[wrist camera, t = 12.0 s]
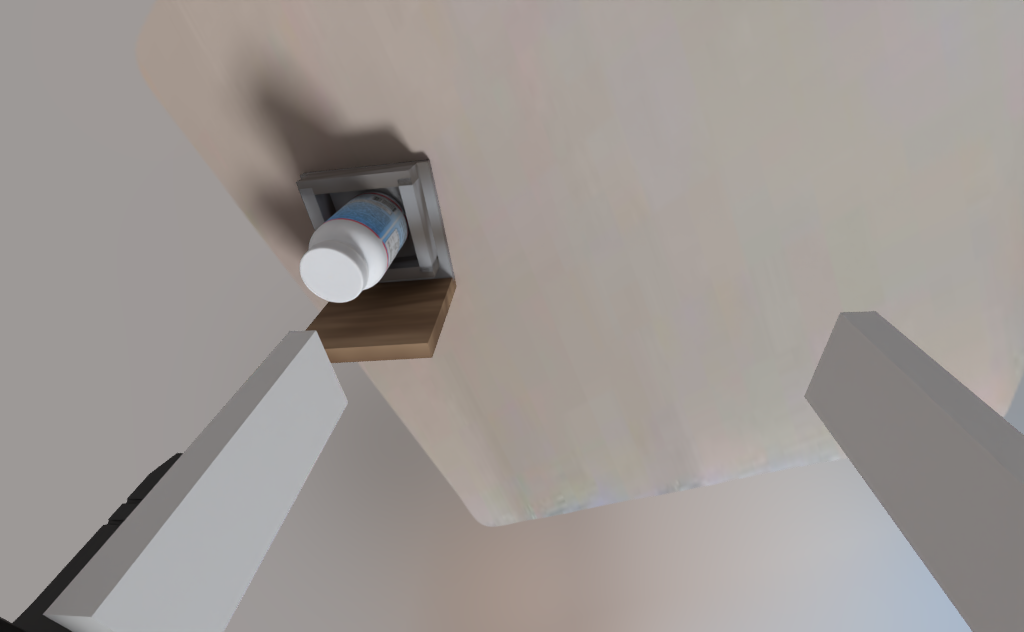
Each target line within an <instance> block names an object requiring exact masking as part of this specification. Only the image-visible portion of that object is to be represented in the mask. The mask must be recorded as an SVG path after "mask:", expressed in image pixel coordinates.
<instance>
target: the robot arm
mask: <svg viewBox="0 0 1024 632" xmlns="http://www.w3.org/2000/svg"><path fill="white" fill-rule="evenodd" d="M804 397H805V398H806V399H807V401H808V402H809V404H810V405H811V406H812V408H813V409H814V411H815V412H816V413H817V415H818V416H819V418H820V419H821V420H822V422H823V423H824V425H825V426H826V427H827V429H828V430H829V432H830V433H831V434H832V436H833V437H834V439H835V440H836V441H837V443H838V444H839V446H840V447H841V448H842V450H843V451H844V453H845V454H846V455H847V457H848V458H849V459H850V461H851V462H852V464H853V465H854V466H855V468H856V469H857V471H858V472H859V473H860V475H861V476H862V478H863V479H864V480H865V482H866V483H867V485H868V486H869V487H870V489H871V490H872V492H873V493H874V494H875V496H876V497H877V499H878V500H879V501H880V503H881V504H882V506H883V507H884V508H885V510H886V511H887V512H888V514H889V515H890V516H891V518H892V520H893V521H894V522H895V524H896V525H897V527H898V528H899V529H900V531H901V532H902V534H903V535H904V536H905V538H906V539H907V541H908V542H909V543H910V545H911V546H912V547H913V549H914V550H915V552H916V553H917V555H918V556H919V557H920V559H921V560H922V561H923V563H924V564H925V566H926V567H927V568H928V570H929V571H930V573H931V574H932V575H933V577H934V578H935V580H936V581H937V582H938V584H939V585H940V587H941V588H942V589H943V591H944V592H945V594H946V595H947V596H948V598H949V599H950V601H951V602H952V603H953V605H954V606H955V608H956V609H957V610H958V612H959V613H960V614H961V616H962V617H963V619H964V620H965V622H966V623H967V624H968V626H969V627H970V629H971V630H972V631H973V632H1024V435H1023V434H1022V433H1021V432H1019V431H1018V430H1017V429H1016V428H1014V427H1013V426H1012V425H1011V424H1010V423H1008V422H1007V421H1006V420H1005V419H1004V418H1003V417H1001V416H1000V415H999V414H998V413H997V412H995V411H994V410H993V409H992V408H991V407H989V406H988V405H987V404H986V403H985V402H983V401H982V400H981V399H980V398H979V397H977V396H976V395H975V394H974V393H973V392H971V391H970V390H969V389H968V388H967V387H965V386H964V385H963V384H962V383H961V382H959V381H958V380H957V379H956V378H955V377H954V376H952V375H951V374H950V373H949V372H948V371H946V370H945V369H944V368H943V367H942V366H940V365H939V364H938V363H937V362H936V361H934V360H933V359H932V358H931V357H930V356H928V355H927V354H926V353H925V352H924V351H922V350H921V349H920V348H919V347H918V346H916V345H915V344H914V343H913V342H912V341H910V340H909V339H908V338H907V337H906V336H904V335H903V334H902V333H901V332H900V331H898V330H897V329H896V328H895V327H894V326H893V325H891V324H890V323H889V322H888V321H887V320H885V319H884V318H883V317H882V316H881V315H879V314H878V313H877V312H876V311H873V312H844V313H840V314H839V317H838V319H837V321H836V324H835V326H834V328H833V331H832V333H831V335H830V338H829V340H828V342H827V345H826V347H825V349H824V352H823V354H822V356H821V359H820V361H819V363H818V366H817V368H816V370H815V373H814V375H813V377H812V380H811V382H810V384H809V387H808V389H807V391H806V394H805V396H804ZM347 404H348V401H347V399H346V397H345V395H344V392H343V390H342V388H341V385H340V383H339V381H338V379H337V376H336V374H335V372H334V370H333V368H332V365H331V363H330V361H329V358H328V356H327V354H326V351H325V349H324V347H323V345H322V342H321V340H320V338H319V336H318V333H317V331H316V330H311V331H290V332H289V333H288V334H287V335H286V336H285V337H284V338H283V339H282V341H281V342H280V343H279V344H278V345H277V346H276V348H275V349H274V350H273V351H272V352H271V353H270V354H269V356H268V357H267V358H266V359H265V360H264V361H263V363H262V364H261V365H260V366H259V367H258V368H257V369H256V371H255V372H254V373H253V374H252V375H251V376H250V377H249V379H248V380H247V381H246V382H245V383H244V384H243V385H242V387H241V388H240V389H239V390H238V391H237V392H236V393H235V395H234V396H233V397H232V398H231V399H230V400H229V401H228V403H227V404H226V405H225V406H224V407H223V408H222V409H221V411H220V412H219V413H218V414H217V415H216V416H215V417H214V419H213V420H212V421H211V422H210V423H209V424H208V426H207V427H206V428H205V429H204V430H203V431H202V433H201V434H200V435H199V436H198V437H197V438H196V440H195V441H194V442H193V443H192V444H191V445H190V446H189V447H188V449H187V450H186V451H185V452H184V453H177V454H176V455H174V456H173V457H171V458H170V459H169V460H167V461H166V462H165V463H163V464H162V465H161V466H159V467H158V468H157V469H156V470H154V471H153V472H152V473H150V474H149V475H148V476H147V477H146V478H145V480H144V481H143V482H142V483H141V484H140V485H139V486H138V487H137V488H136V490H135V491H134V492H133V493H132V494H131V495H130V496H129V497H128V499H127V503H126V504H122V505H121V506H120V507H119V508H118V509H117V510H116V512H115V513H114V514H113V515H112V516H111V517H110V518H109V519H108V520H109V522H108V524H107V525H103V526H102V527H101V528H100V529H99V530H98V532H96V534H95V535H94V536H93V537H92V538H91V539H90V540H89V541H88V542H87V544H86V545H85V546H84V547H83V548H82V549H81V550H80V551H79V552H78V553H77V555H76V556H75V557H74V558H73V559H72V560H71V561H70V562H69V563H68V564H67V566H66V567H65V568H64V569H63V570H62V571H61V572H60V573H59V574H58V575H57V577H56V578H55V579H54V580H53V581H52V582H51V583H50V584H49V586H47V588H46V589H45V590H44V591H43V592H42V593H41V594H40V595H39V596H38V597H37V599H36V600H35V601H34V602H33V603H32V604H31V605H30V606H29V607H28V608H27V609H26V610H25V611H24V612H23V613H22V614H21V615H20V616H19V617H18V618H17V619H16V620H15V621H14V622H13V623H10V622H9V621H7V620H5V619H3V618H1V617H0V632H224V630H225V628H226V627H227V625H228V623H229V621H230V619H231V617H232V616H233V614H234V612H235V610H236V608H237V606H238V604H239V603H240V601H241V599H242V597H243V595H244V593H245V592H246V590H247V588H248V586H249V584H250V582H251V580H252V579H253V577H254V575H255V573H256V571H257V569H258V568H259V566H260V563H261V562H262V560H263V558H264V557H265V555H266V553H267V551H268V549H269V547H270V545H271V543H272V542H273V540H274V538H275V536H276V534H277V533H278V531H279V529H280V527H281V525H282V523H283V522H284V520H285V518H286V516H287V514H288V512H289V510H290V509H291V507H292V505H293V503H294V501H295V499H296V498H297V496H298V494H299V492H300V490H301V488H302V486H303V484H304V483H305V481H306V479H307V477H308V475H309V474H310V472H311V470H312V468H313V466H314V464H315V462H316V461H317V459H318V457H319V455H320V453H321V451H322V450H323V448H324V446H325V444H326V442H327V440H328V438H329V437H330V435H331V433H332V431H333V429H334V427H335V426H336V424H337V422H338V420H339V418H340V416H341V415H342V413H343V411H344V409H345V407H346V405H347Z"/></svg>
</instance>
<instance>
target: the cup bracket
mask: <svg viewBox="0 0 1024 632" xmlns="http://www.w3.org/2000/svg"><path fill="white" fill-rule="evenodd" d="M300 177H301V180H299V181H297V182H296V184H297V186H298V189H299V191H300V194H301V197H302V199H303V202H304V204H305V207H306V209H307V212H308V214H309V217H310V219H311V222H312V225H313V227H314V230H315V231H316V230H317V229H318V228H319V227H320V226H321V225H322V224H323V223H324V222H326V221H327V220H328V219H329V218H330V217H331V216H333V215H334V214H335V213H336V212H337V211H338V210H340V209H341V208H342V207H343V206H344V205H346V204H347V203H348V202H349V201H350V200H352V199H353V198H354V197H356V196H357V195H359V194H361V193H365V192H380V193H383V194H386V195H388V196H390V197H391V198H393V199H394V200H396V201H397V202H398V203H399V204H400V205H401V207H402V208H403V209H404V211H405V213H406V216H407V220H408V224H409V233H408V236H407V239H406V241H405V243H404V244H403V246H402V247H401V249H400V250H399V252H398V253H397V255H396V257H395V258H394V260H393V261H392V263H391V264H390V266H389V268H388V269H387V271H386V272H385V274H384V275H383V277H382V278H381V279H380V281H379V282H378V283H377V284H375V285H374V286H372V287H370V288H368V289H365V290H362V292H361V293H360V294H359V295H358V296H357V297H356V298H355V299H353V300H351V301H348V302H343V303H337V302H330V301H329V302H328V304H327V305H326V306H325V307H324V308H323V310H322V311H321V312H320V313H319V315H318V316H317V317H316V318H315V319H314V321H313V322H312V323H311V324H310V325H309V327H308V328H307V329H306V330H305V331H311V330H316V331H317V333H318V336H319V338H320V340H321V342H322V345H323V347H324V349H325V351H326V354H327V356H328V358H329V361H330V363H341V362H359V361H378V360H396V359H414V358H432V356H433V354H434V351H435V348H436V345H437V342H438V339H439V336H440V333H441V330H442V327H443V324H444V321H445V318H446V316H447V313H448V310H449V307H450V304H451V301H452V298H453V295H454V292H455V289H456V282H455V277H454V272H453V268H452V263H451V258H450V253H449V249H448V244H447V239H446V235H445V230H444V225H443V220H442V216H441V211H440V206H439V201H438V197H437V192H436V187H435V182H434V178H433V173H432V168H431V164H430V160H422V161H412V162H403V163H394V164H385V165H375V166H366V167H357V168H347V169H338V170H329V171H319V172H310V173H303V174H301V175H300Z"/></svg>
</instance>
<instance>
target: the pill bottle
mask: <svg viewBox="0 0 1024 632" xmlns="http://www.w3.org/2000/svg"><path fill="white" fill-rule="evenodd" d="M408 233H409V224H408V220H407V216H406V213H405V211H404V209H403V208H402V207H401V205H400V204H399V203H398V202H397V201H396V200H394V199H393V198H391V197H390V196H388V195H386V194H383V193H380V192H365V193H361V194H359V195H357V196H356V197H354V198H353V199H352V200H350V201H349V202H348V203H347V204H346V205H344V206H343V207H342V208H341V209H340V210H338V211H337V212H336V213H335V214H334V215H333V216H331V217H330V218H329V219H328V220H327V221H326V222H324V223H323V224H322V225H321V226H320V227H319V228H318V229H317V230H316V231H315V232H314V233H313V235H312V237H311V239H310V242H309V250H308V251H307V252H306V253H305V254H304V255H303V257H302V259H301V261H300V274H301V277H302V279H303V281H304V283H305V284H306V286H307V287H308V288H309V289H310V290H311V291H312V292H313V293H314V294H316V295H317V296H319V297H321V298H323V299H325V300H327V301H330V302H337V303H343V302H348V301H351V300H353V299H355V298H356V297H357V296H358V295H359V294H360V293H361V292H362V290H365V289H368V288H370V287H372V286H374V285H375V284H377V283H378V282H379V281H380V279H381V278H382V277H383V275H384V274H385V272H386V271H387V269H388V268H389V266H390V264H391V263H392V261H393V260H394V258H395V257H396V255H397V253H398V252H399V250H400V249H401V247H402V246H403V244H404V243H405V241H406V239H407V236H408Z"/></svg>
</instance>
